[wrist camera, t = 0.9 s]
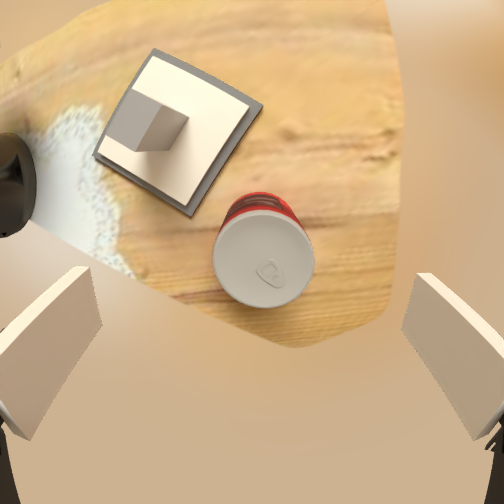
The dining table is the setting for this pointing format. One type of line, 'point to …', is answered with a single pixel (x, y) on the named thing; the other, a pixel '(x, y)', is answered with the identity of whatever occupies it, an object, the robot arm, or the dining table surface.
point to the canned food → (262, 252)
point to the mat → (223, 154)
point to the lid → (171, 128)
